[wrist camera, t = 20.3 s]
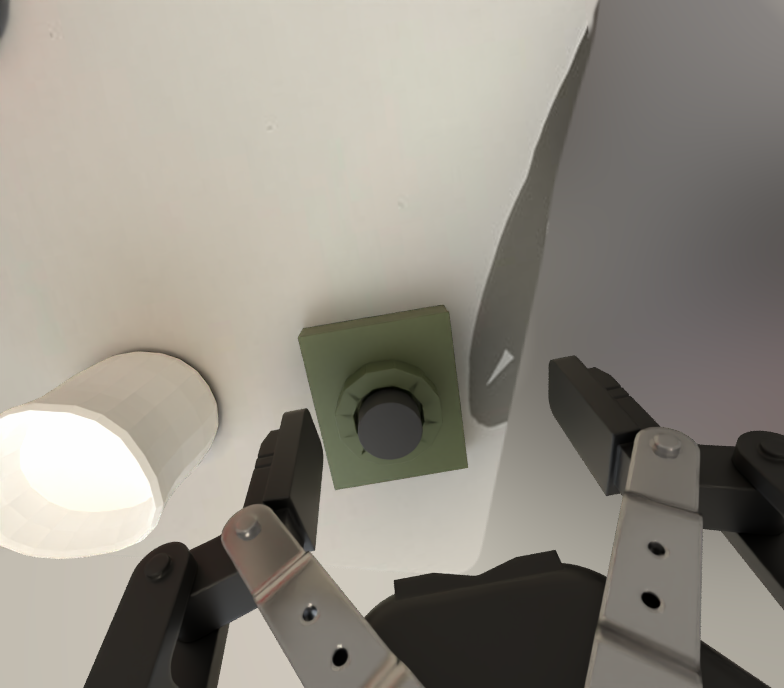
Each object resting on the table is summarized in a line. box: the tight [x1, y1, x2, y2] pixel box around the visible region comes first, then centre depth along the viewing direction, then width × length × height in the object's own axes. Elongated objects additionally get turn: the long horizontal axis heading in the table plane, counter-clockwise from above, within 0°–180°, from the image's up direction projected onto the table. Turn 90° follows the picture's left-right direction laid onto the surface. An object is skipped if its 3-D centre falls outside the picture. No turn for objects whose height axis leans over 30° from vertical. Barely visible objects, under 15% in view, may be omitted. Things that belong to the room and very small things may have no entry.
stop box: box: [298, 305, 468, 490], centre depth 29 cm, size 12×10×4 cm
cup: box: [0, 351, 218, 559], centre depth 25 cm, size 10×10×10 cm
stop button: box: [358, 389, 423, 460], centre depth 26 cm, size 4×4×2 cm
